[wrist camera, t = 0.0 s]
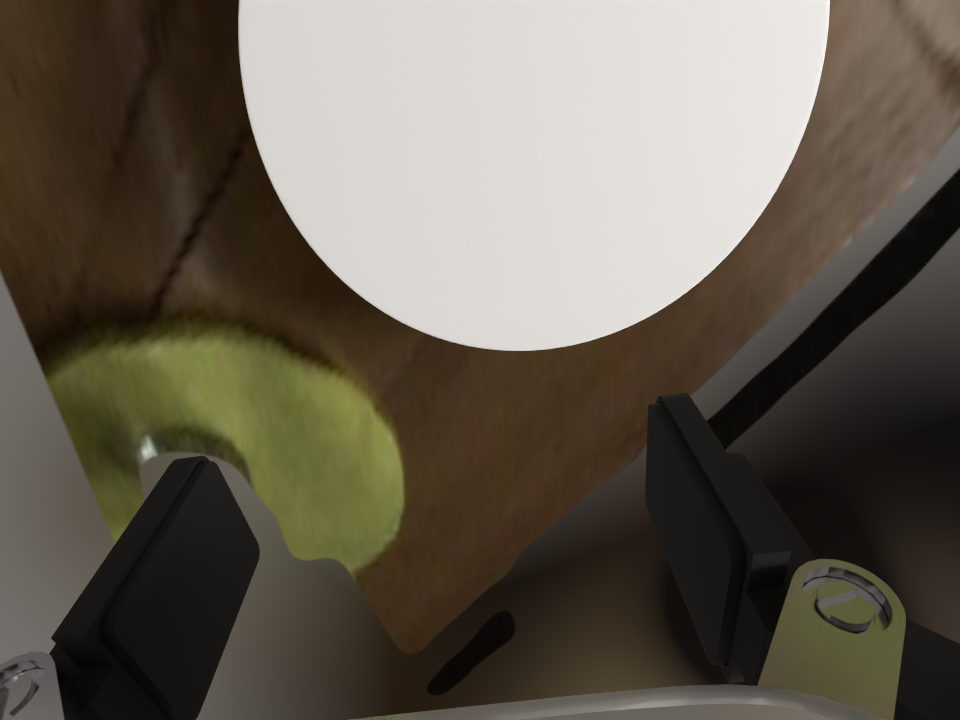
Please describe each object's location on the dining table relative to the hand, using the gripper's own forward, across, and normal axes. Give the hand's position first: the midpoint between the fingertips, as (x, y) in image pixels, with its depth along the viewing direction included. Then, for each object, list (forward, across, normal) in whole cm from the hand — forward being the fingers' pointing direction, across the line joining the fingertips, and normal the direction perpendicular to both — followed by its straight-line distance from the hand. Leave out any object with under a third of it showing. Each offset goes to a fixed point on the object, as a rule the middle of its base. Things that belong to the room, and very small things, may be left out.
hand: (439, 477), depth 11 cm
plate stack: (+32, -5, -5) cm, 32 cm away
